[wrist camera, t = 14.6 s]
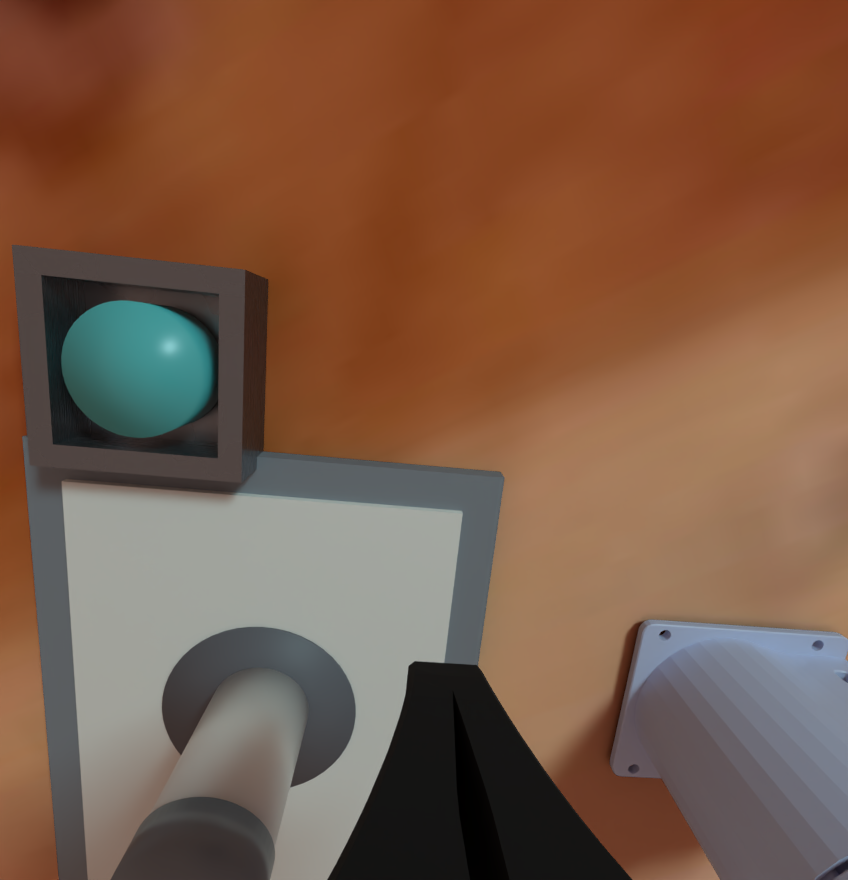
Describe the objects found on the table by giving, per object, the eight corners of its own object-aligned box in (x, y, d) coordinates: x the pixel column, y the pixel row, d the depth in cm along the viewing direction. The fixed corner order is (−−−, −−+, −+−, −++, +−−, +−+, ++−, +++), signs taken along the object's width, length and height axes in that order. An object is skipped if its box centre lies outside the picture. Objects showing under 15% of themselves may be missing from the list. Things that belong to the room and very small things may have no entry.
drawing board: (500, 471, 19) (506, 480, 18) (442, 889, 24) (444, 918, 22) (39, 432, 18) (13, 438, 17) (72, 876, 23) (54, 906, 21)
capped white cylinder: (316, 671, 19) (267, 854, 12) (305, 755, 20) (254, 969, 13) (212, 660, 19) (104, 841, 12) (205, 745, 20) (101, 960, 13)
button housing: (268, 279, 17) (245, 269, 15) (263, 463, 19) (241, 482, 16) (69, 258, 17) (11, 244, 14) (80, 448, 18) (29, 465, 16)
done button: (225, 311, 17) (201, 308, 15) (224, 431, 18) (201, 443, 16) (98, 298, 16) (56, 293, 15) (103, 420, 17) (65, 431, 15)
